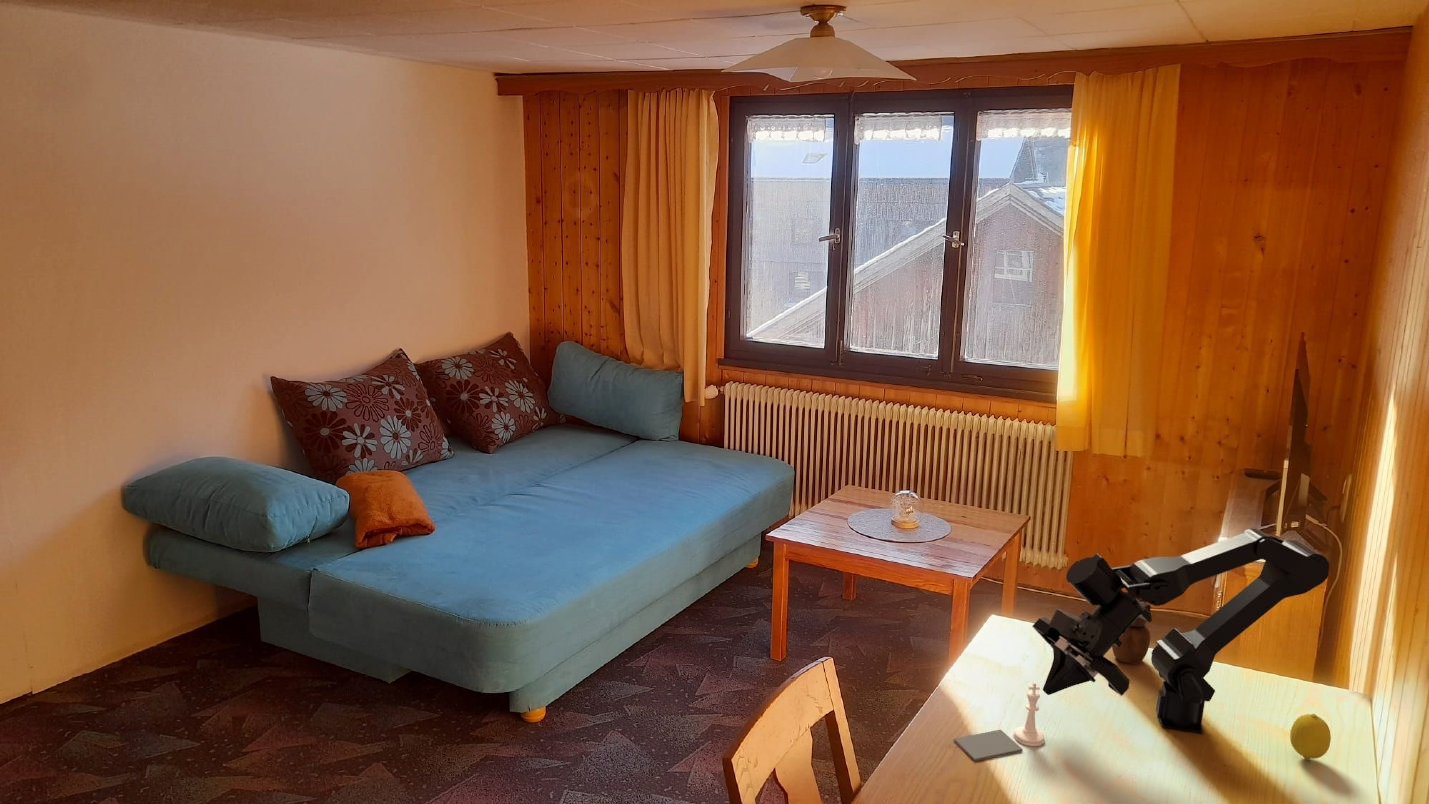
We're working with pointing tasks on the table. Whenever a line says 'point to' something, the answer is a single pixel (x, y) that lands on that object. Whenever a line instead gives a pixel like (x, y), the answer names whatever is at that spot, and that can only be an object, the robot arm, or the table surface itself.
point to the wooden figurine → (1134, 642)
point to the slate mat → (988, 745)
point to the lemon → (1310, 736)
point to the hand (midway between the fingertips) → (1045, 692)
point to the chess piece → (1030, 722)
